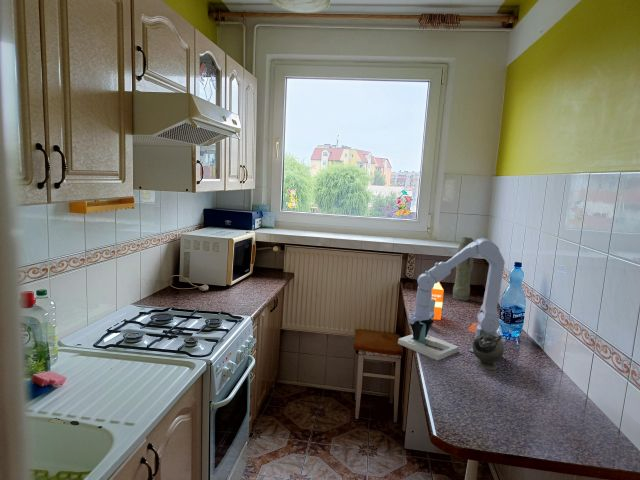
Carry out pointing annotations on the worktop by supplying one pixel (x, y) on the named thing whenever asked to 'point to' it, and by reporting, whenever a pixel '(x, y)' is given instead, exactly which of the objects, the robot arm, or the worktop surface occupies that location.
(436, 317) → the orange juice
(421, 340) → the teal peg
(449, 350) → the white rectangular frame
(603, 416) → the worktop surface
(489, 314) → the robot arm
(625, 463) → the worktop surface
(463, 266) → the thermos
